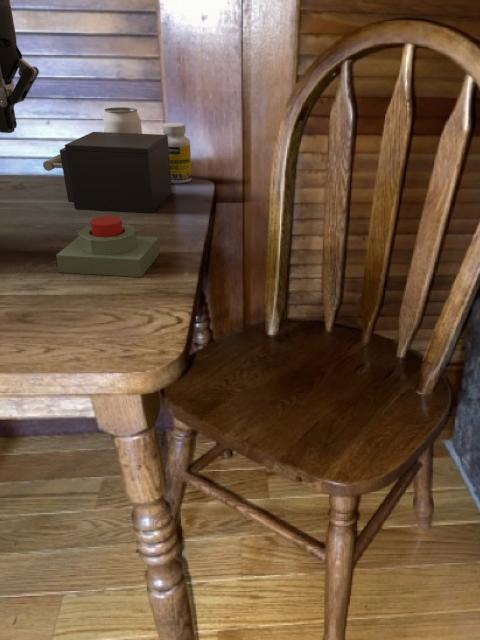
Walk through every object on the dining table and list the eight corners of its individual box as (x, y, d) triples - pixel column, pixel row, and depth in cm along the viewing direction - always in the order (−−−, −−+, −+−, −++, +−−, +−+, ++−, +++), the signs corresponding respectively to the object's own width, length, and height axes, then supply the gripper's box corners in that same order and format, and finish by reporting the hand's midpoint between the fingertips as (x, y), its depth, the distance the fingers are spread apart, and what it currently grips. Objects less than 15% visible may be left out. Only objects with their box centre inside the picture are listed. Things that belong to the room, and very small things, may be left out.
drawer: (42, 200, 90) (32, 148, 86) (69, 184, 99) (61, 136, 95) (139, 205, 89) (134, 153, 85) (157, 188, 98) (153, 140, 94)
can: (121, 185, 102) (112, 113, 96) (104, 178, 106) (95, 108, 100) (153, 180, 106) (146, 110, 100) (135, 173, 110) (128, 106, 104)
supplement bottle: (166, 185, 103) (162, 127, 98) (159, 178, 108) (155, 122, 102) (195, 183, 105) (192, 126, 100) (187, 176, 110) (184, 121, 104)
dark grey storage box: (75, 209, 90) (64, 144, 85) (101, 190, 99) (92, 131, 94) (153, 213, 89) (147, 148, 84) (172, 193, 99) (167, 134, 94)
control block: (59, 272, 68) (53, 240, 66) (84, 249, 75) (79, 219, 72) (141, 277, 67) (137, 244, 65) (159, 253, 74) (157, 223, 72)
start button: (87, 238, 68) (85, 224, 67) (98, 229, 71) (96, 215, 70) (117, 240, 67) (115, 225, 66) (127, 230, 70) (125, 216, 69)
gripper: (38, 4, 84) (57, 130, 93) (-50, 0, 84) (-22, 126, 93) (15, 3, 78) (38, 138, 87) (-80, -2, 78) (-47, 133, 87)
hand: (7, 132), depth 90 cm, fingers closed
